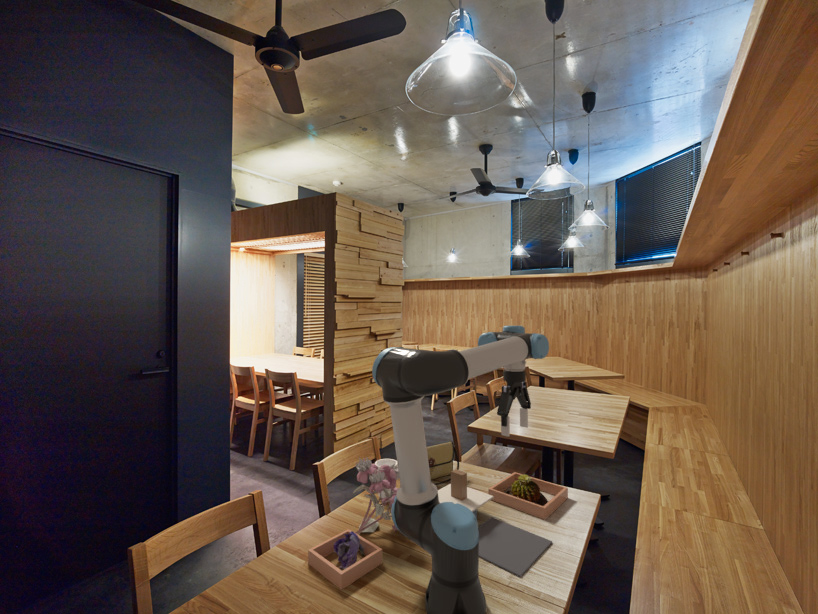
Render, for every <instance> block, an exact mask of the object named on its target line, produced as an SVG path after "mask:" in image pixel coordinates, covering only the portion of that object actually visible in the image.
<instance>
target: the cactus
mask: <svg viewBox="0 0 818 614" xmlns="http://www.w3.org/2000/svg"><path fill="white" fill-rule="evenodd" d="M520 474H521V475H520V476H519V477H518V479H519V480H515V482H514V481H513V482H514V483H512V486H510V487H511V488H510V490H507V491H506V492H504V493H506V494H509V495H512V496H515V497H517V498H520V499H523V500H526V501H529V502H532V503H535V504H538V505H541V506H544V505H545V504H547V503H548V498H546V496H545V495H544V494H543V493H542V492H541V490H540V488H539V486H538V485H537V484H536V483H535V482H533V480H532V481H531V479H532V478H530V477H531V476H530V475H529V474H523V475H522V473H520ZM529 476H530V477H529Z"/></svg>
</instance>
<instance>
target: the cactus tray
mask: <svg viewBox="0 0 818 614" xmlns="http://www.w3.org/2000/svg"><path fill="white" fill-rule="evenodd" d="M521 474H522V473H518V472H516V471H513V472H512V473H511V474H509V475H508V476H506V477H504V478H503V479H502V480H499V481H498V482H497V483H495V484H494V485H492V486H490V487H489V488H488V491H487V492H488V493H487V494H489V495H492V496H493V498H492V499H491V500H490V501H493V502H496V503H498V504H501V505H503V506H506V507H509V508H512V509H514V510H517V511H520V512H522V513H525V514H529V515H532V516H534V517H537V518H540V519H542V520H546V519H547V518H549V516H551V515H552V514H553V513H554V511H556V510H557V509H559V507H560V506H561V505H562V504H563V503H564V502H565V501H567V499H568V498H569V491H568V490H569V488H568V487H566V486H563V485H559V484H556V483H553V482H550V481H545V480H543V479H540V478H536V477H533V476H530V475H528V476H529V477H530V478H532V479H531V481H532V480H533V482H535V483H536V484H537V485H538V486H539V488H540V492H543V493H547V494H550V495H554V496H553V497H552V498H551V499H550V500H549V501H547V504H545V505H544V506H541V505H538V504H535V503H532V502H529V501H526V500H523V499H520V498H517V497H515V496H512V495H509V494H506V493H505V492H504V491H506V490H507V489H509V488H510V487H512V483H514V482H515V480H519V479H518V477H519V476H520V475H521ZM522 475H524V473H523V474H522ZM513 481H514V482H513Z"/></svg>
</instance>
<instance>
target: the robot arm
mask: <svg viewBox="0 0 818 614" xmlns="http://www.w3.org/2000/svg"><path fill="white" fill-rule="evenodd" d="M549 350H550V342H549V340H548V337H547V336H546V335H545V334H542V333H535V332H532V333H526V329H525V326H523V325H504V326H503V327H502V331H488V332H483V333H482V334H480V335H479V337H478V339H477V346H475V347H470V348H467V349H463V350H460V351H459V350H458V349H454V348H453V349H449V350H443V351H441V350H439V351H436V350H426V349H417V348H408V347H402V346H398V347H397V346H395V347H394V346H393V347H388V348H385V349H383V350H382V351H380V353H379V354H378V355H377V357H375V359H374V361H373V364H372V368H371V370H372V371H371V373H372V375H371V376H372V379H373V380H374V382H375V384H377V386H378V387H380V388H381V390H382V391H381V392H382V399H383V402H384V403H385V404H387V405H388V406H389V410H390V418H391V425H392V433H393V439H394V440H393V441H394V445H395V447H394V449H395V455H396V461H397V464H398V471H399V478H398V480H399V485H400V487H399V488H398V490H397V493H396V497H395V499H394V501H395V502H394V503H393V504H392V508H391V507H390V509H391V510H390V511H391V513H390V516H392V517H391V520H392V523H393V526H394V525H395V526H396V528H397V529H398V530H397V531H399V533H400V534H402V535H403V536H404V537H405V538H407V539H409V540H411V541H412V542H413V543H415V544H416V545H417V546H418V547H420V548H421V549H422V550H424V551H425V552H427V553H428V554H430V556H431V576H430V579H429V580H428V584H427V588H426V591H425V594H424V595H425V596H424V607H425V608H424V609H425V612H426V614H487V601H486V600H487V599H486V596H485V593H484V590H483V588H482V584H481V580H480V577H479V567H480V566H479V565H480V563H479V560H480V559H479V558H480V557H479V531H478V527H479V525H478V520H477V519H476V517H475V515H474V513H473V512H472V511H471V510H470V509H468V508H467V507H466V506H464V505H461V504H459V503H456V504H454V503H453V502H443V503H440V502H439V498H438V490H439V489H438V487H437V485H435V484H436V483H434V482H432V480H431V478H430V470H429V462H428V455H427V447H428V446H427V440H426V433H425V426H424V425H425V423H424V417H423V410H422V409H423V408H422V401H423V398H424V397H428V396H434V395H439V394H442V393H445V392H447V391H451V390H455V389H457V388H460V387H462V386H464V385H466V384H467V383H468V380H470V379H473V378H476V377H478V376H481V375H485V374H487V373H491V372H493V371H496V370H500V369H504V370H503V375H502V376H503V377H502V378H503V381H505V382H506V385H502V386H501V393H500V397H499V401H498V407H497V411H496V412H497V413H496V414H497V416H498V417H499V416H500V427H501V428H500V431H501V432H500V434H501V436H504V437H507V438H508V437H510V435H511V434H510V433H511V432H510V428H511V427H510V423H511V422H510V416H509V415H510V411H511V408H512V405H513V402H514V400H516V399H517V401H518V404H519V406H520V408H519V427H521V428H526V429H527V428H529V410H530V409H531V408H532V407H531V406H532V403H531V398H530V395H529V390H528V386H527V379H526V378H527V374H526V373H527V372H526V371H525V370H526V364H527V361H526V360H528V359H534V360H542V359H543V360H544V358H546V357H547V356H548V354H549Z"/></svg>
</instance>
